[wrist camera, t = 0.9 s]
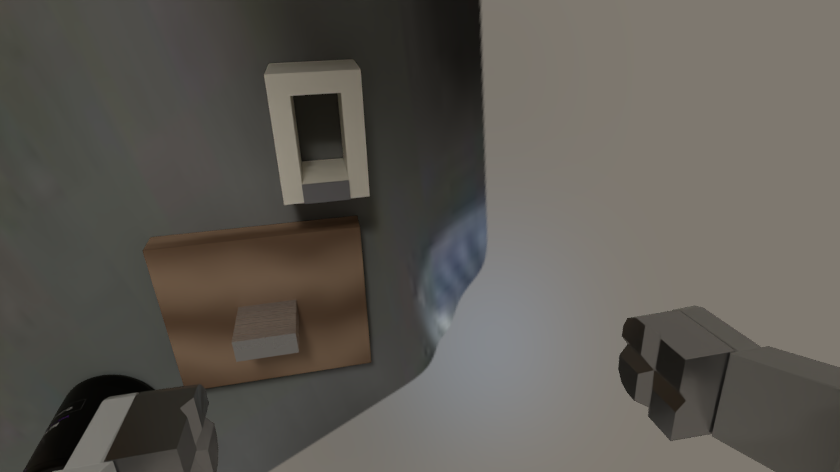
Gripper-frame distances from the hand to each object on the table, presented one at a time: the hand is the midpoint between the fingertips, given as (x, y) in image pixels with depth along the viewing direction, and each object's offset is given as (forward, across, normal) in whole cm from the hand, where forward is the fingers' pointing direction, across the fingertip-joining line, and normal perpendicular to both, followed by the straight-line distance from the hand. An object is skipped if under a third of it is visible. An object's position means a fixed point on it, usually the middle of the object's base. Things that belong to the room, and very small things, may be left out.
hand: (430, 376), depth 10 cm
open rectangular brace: (+26, +2, -1) cm, 27 cm away
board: (+28, +7, +12) cm, 31 cm away
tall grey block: (+26, +7, +12) cm, 29 cm away
